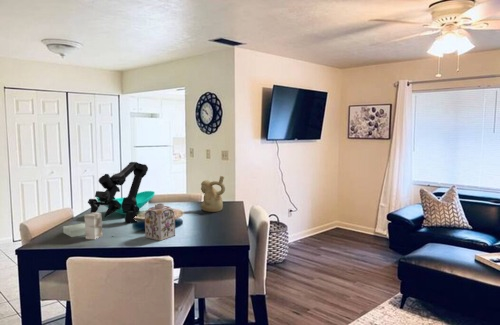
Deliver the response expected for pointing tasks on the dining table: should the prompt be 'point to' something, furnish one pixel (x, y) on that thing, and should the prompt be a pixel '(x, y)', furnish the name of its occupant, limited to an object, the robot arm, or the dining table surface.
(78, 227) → the sage block
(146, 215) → the decorative jar
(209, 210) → the ceramic vessel
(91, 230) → the cream block
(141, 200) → the table top decor
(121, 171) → the robot arm
